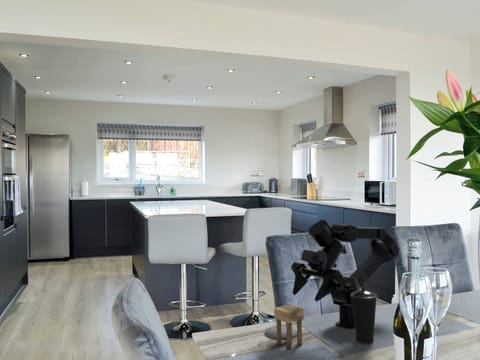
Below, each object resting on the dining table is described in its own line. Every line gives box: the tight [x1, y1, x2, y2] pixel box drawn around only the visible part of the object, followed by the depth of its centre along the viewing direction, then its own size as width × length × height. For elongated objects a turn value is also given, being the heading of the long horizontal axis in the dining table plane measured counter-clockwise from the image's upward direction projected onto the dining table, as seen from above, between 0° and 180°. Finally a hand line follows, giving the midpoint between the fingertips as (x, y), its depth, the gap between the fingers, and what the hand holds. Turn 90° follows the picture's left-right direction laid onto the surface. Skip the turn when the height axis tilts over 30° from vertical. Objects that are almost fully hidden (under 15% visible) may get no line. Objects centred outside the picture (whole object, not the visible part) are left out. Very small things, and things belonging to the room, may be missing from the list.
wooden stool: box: [273, 304, 305, 350], centre depth 122 cm, size 6×6×10 cm
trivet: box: [264, 325, 297, 340], centre depth 132 cm, size 10×10×1 cm
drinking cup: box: [351, 273, 378, 345], centre depth 124 cm, size 8×8×20 cm
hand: (304, 297), depth 126 cm, fingers open, 9 cm apart
